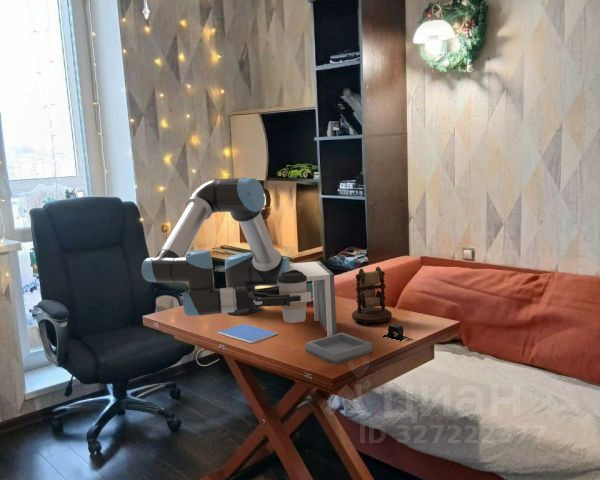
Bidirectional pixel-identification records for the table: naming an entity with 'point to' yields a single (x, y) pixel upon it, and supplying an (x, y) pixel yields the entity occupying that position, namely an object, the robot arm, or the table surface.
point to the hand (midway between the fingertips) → (308, 292)
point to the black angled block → (395, 329)
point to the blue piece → (247, 333)
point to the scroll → (371, 297)
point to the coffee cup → (290, 285)
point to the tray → (338, 348)
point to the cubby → (321, 293)
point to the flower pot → (309, 288)
